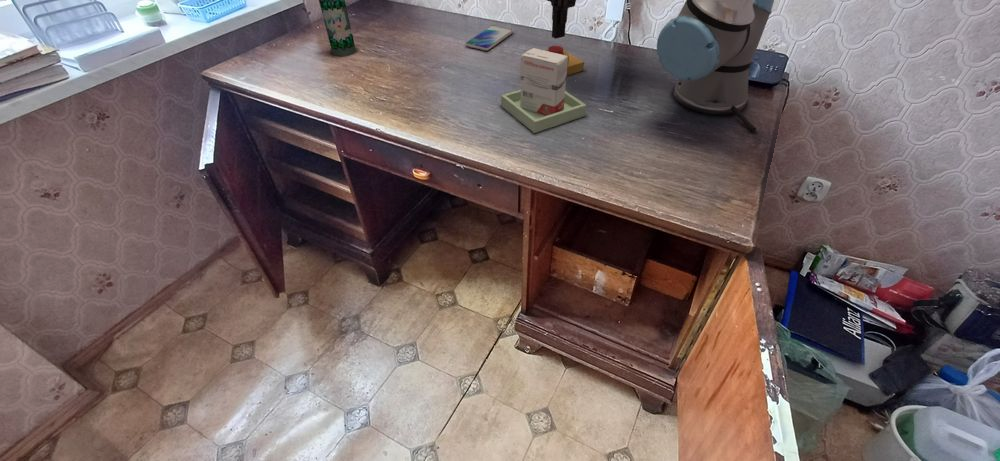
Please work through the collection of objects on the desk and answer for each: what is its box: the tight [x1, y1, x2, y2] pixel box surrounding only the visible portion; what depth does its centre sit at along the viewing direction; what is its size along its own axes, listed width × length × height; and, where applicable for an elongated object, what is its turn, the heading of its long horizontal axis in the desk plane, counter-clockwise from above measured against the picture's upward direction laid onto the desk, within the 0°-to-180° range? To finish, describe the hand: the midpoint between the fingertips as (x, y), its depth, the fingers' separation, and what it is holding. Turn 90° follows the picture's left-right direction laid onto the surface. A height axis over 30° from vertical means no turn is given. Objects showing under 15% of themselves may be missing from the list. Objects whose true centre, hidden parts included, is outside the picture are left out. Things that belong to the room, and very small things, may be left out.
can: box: [318, 0, 357, 57], centre depth 120 cm, size 6×6×15 cm
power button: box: [547, 45, 564, 55], centre depth 113 cm, size 4×4×2 cm
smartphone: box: [465, 25, 514, 51], centre depth 129 cm, size 7×1×15 cm
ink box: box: [520, 47, 568, 116], centre depth 97 cm, size 9×5×12 cm, turn 58°
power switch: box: [544, 49, 585, 76], centre depth 114 cm, size 8×12×4 cm, turn 121°
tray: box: [500, 89, 587, 134], centre depth 100 cm, size 13×13×3 cm
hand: (558, 36), depth 110 cm, fingers closed
